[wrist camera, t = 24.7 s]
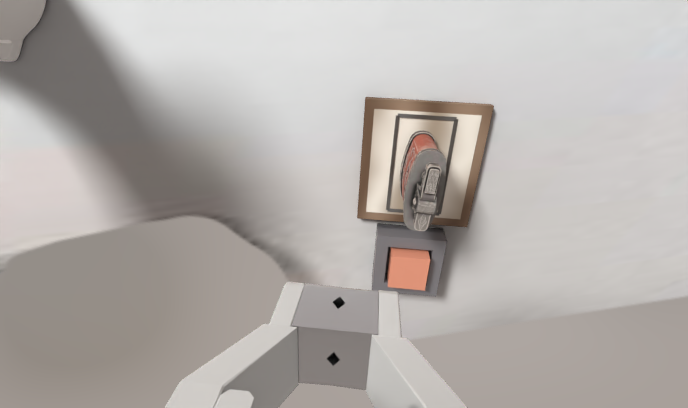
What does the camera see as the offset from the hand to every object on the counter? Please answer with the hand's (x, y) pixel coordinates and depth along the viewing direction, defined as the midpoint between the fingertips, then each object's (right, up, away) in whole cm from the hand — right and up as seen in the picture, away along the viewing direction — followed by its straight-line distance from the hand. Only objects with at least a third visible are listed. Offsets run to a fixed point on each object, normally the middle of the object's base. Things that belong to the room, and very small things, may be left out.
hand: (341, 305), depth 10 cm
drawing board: (+9, +7, +30) cm, 32 cm away
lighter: (+8, +7, +29) cm, 31 cm away
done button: (+8, -4, +34) cm, 35 cm away
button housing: (+8, -4, +35) cm, 36 cm away
